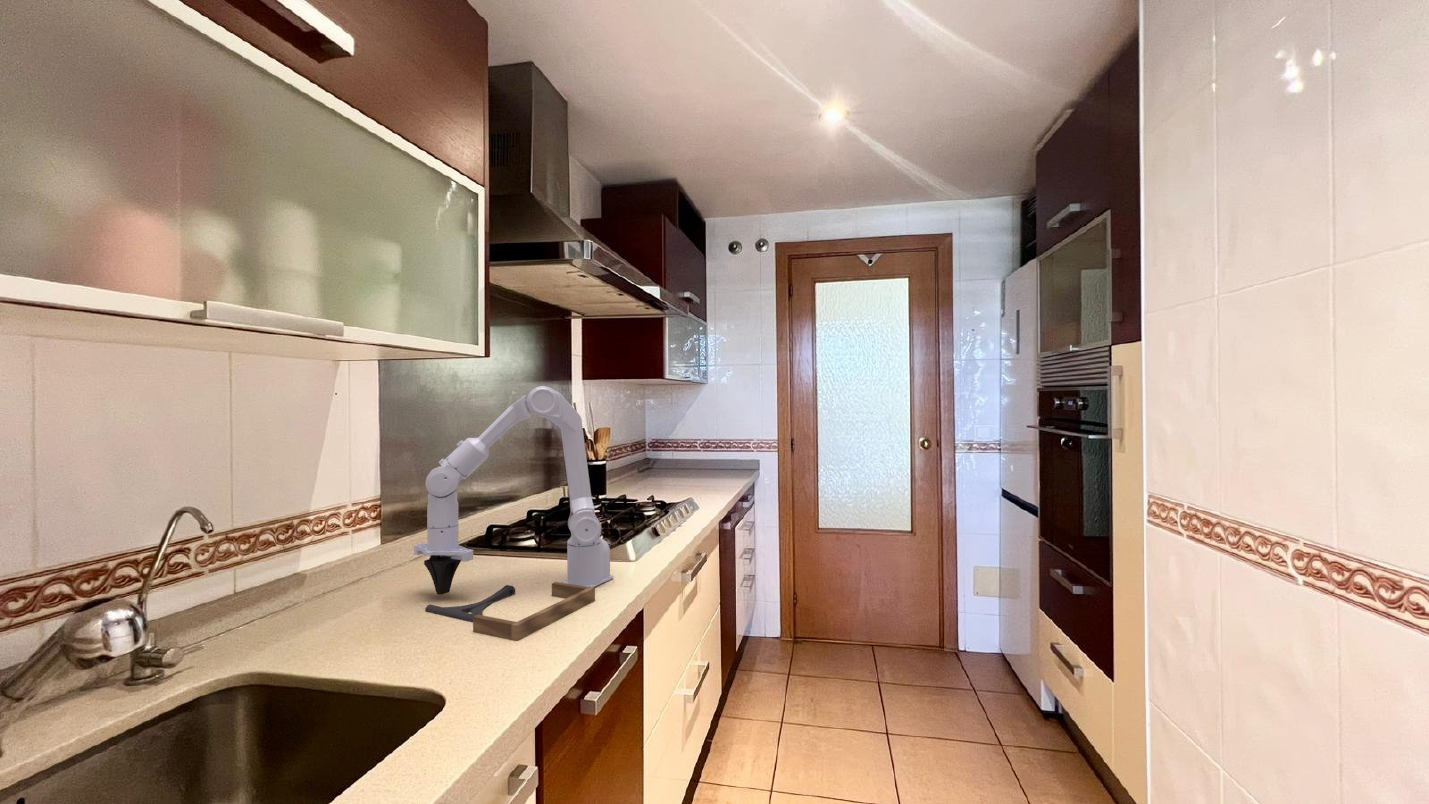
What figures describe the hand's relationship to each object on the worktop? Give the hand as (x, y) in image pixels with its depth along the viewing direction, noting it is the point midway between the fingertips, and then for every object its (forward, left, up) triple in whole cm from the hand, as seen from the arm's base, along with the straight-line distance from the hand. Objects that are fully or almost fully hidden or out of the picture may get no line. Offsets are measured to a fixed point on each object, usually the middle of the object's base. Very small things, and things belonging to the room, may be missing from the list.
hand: (443, 593), depth 116 cm
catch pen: (0, +25, -1) cm, 25 cm away
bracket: (0, +11, -2) cm, 11 cm away
